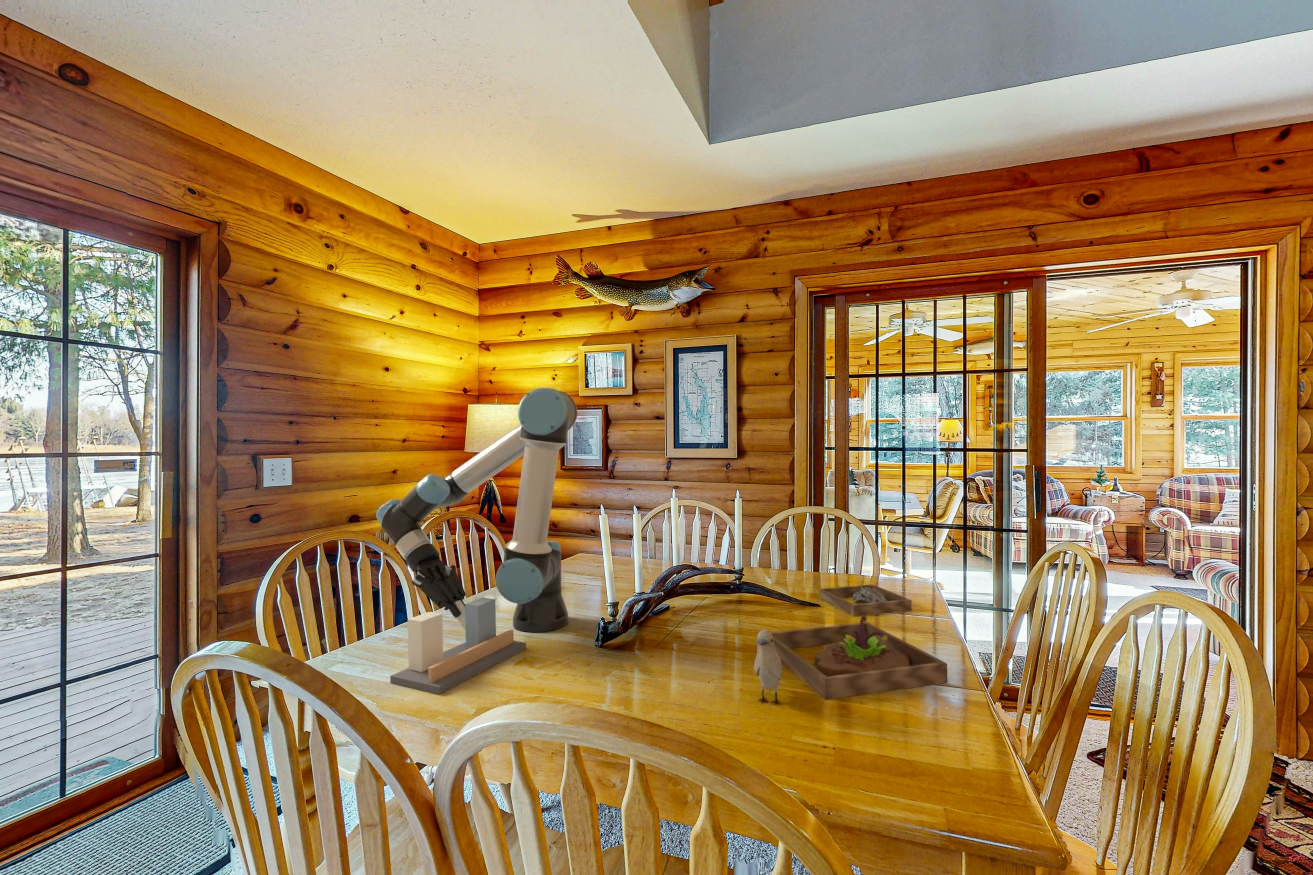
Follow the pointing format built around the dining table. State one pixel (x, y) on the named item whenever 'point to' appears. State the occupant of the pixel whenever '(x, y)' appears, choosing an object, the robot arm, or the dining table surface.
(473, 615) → the grey tall block
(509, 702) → the dining table surface
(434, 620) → the beige tall block
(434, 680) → the grey stand base
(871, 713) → the dining table surface
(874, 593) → the fossilized seashell
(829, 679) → the planter frame
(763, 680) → the bird
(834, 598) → the frame
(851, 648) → the plant
